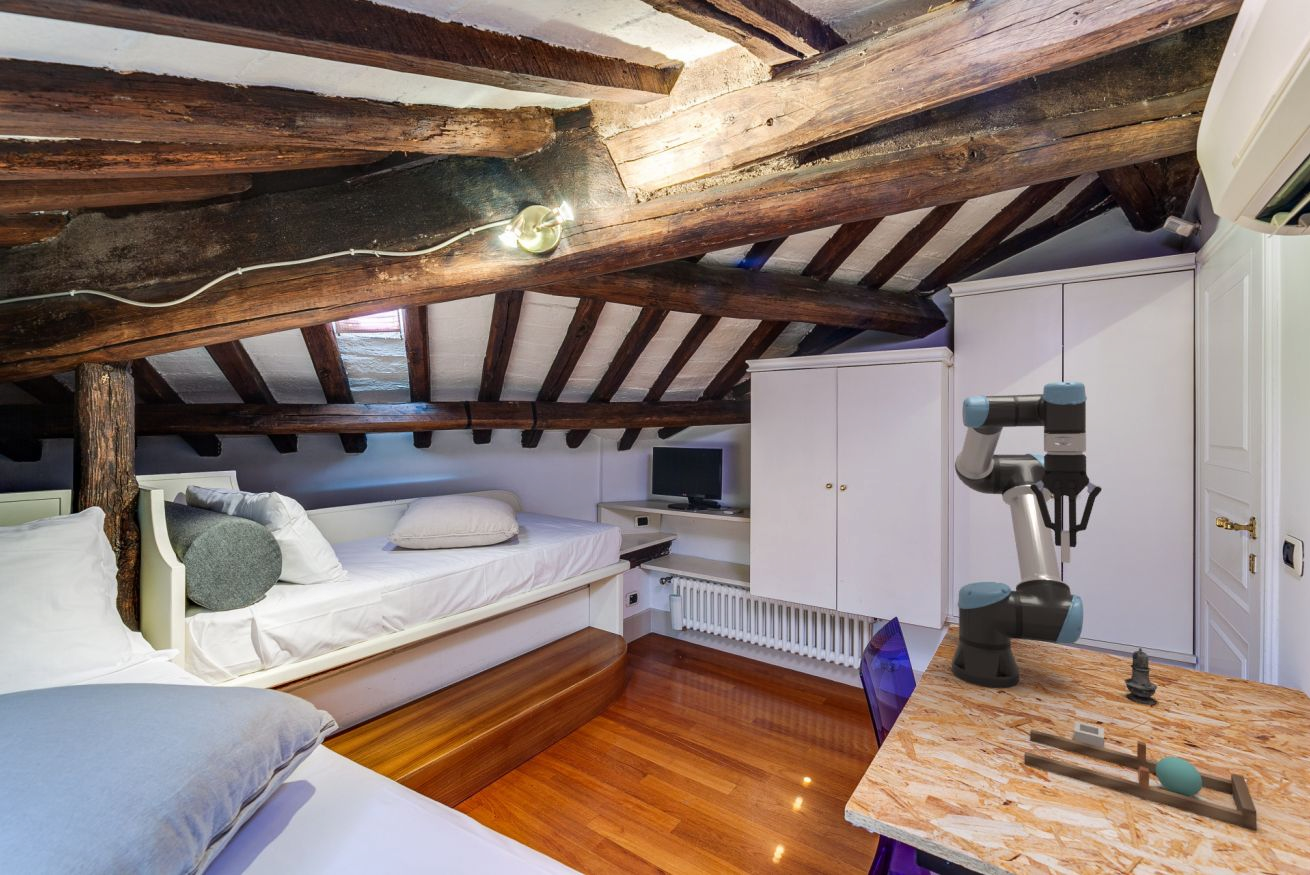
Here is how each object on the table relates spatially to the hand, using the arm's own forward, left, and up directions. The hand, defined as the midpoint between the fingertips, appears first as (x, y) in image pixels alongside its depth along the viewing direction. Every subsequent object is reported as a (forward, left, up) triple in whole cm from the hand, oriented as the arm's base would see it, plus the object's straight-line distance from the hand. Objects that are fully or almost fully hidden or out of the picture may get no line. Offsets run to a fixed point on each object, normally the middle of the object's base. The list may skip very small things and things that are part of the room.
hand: (1065, 561), depth 127 cm
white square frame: (+4, -8, -34) cm, 36 cm away
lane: (+10, -20, -34) cm, 41 cm away
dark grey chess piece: (+13, +20, -35) cm, 42 cm away
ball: (+17, -21, -31) cm, 41 cm away
